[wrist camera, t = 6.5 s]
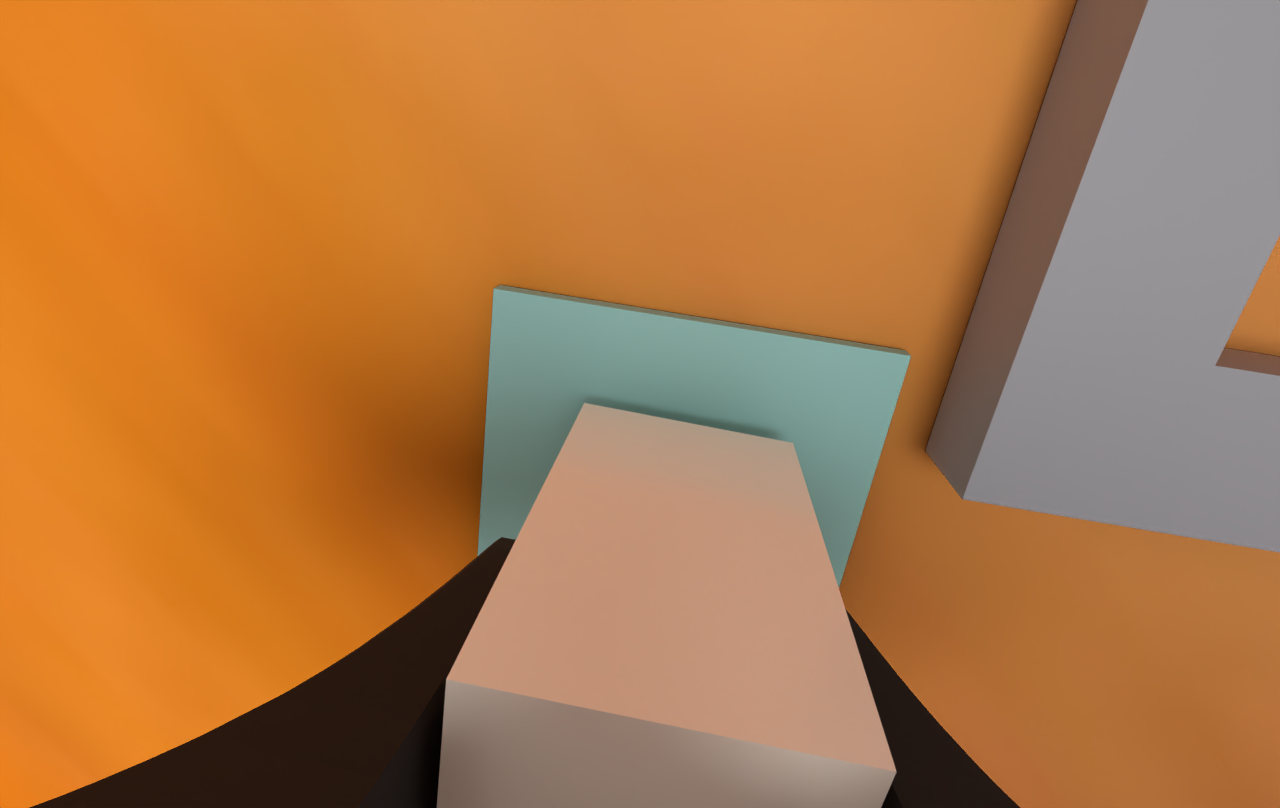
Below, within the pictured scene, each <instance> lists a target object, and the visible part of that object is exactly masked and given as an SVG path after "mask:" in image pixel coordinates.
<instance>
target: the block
mask: <svg viewBox="0 0 1280 808" xmlns="http://www.w3.org/2000/svg"><path fill="white" fill-rule="evenodd" d="M896 772H897V771H896V768H895V765H894V762H893V759H892V755H891V752H890V749H889V746H888V743H887V740H886V736H885V733H884V730H883V727H882V724H881V721H880V717H879V714H878V711H877V708H876V705H875V702H874V698H873V695H872V692H871V689H870V686H869V683H868V679H867V676H866V673H865V670H864V667H863V663H862V660H861V657H860V654H859V651H858V648H857V644H856V641H855V638H854V635H853V632H852V629H851V625H850V622H849V619H848V616H847V613H846V610H845V606H844V603H843V600H842V597H841V594H840V591H839V587H838V584H837V581H836V578H835V575H834V571H833V568H832V565H831V562H830V559H829V556H828V552H827V549H826V546H825V543H824V540H823V537H822V533H821V530H820V527H819V524H818V521H817V518H816V514H815V511H814V508H813V505H812V502H811V499H810V495H809V492H808V489H807V486H806V483H805V479H804V476H803V473H802V470H801V467H800V464H799V460H798V457H797V454H796V451H795V448H794V445H793V443H791V442H786V441H781V440H775V439H770V438H765V437H760V436H755V435H749V434H744V433H739V432H734V431H728V430H723V429H718V428H713V427H708V426H702V425H697V424H692V423H687V422H682V421H676V420H671V419H666V418H661V417H656V416H650V415H645V414H640V413H635V412H629V411H624V410H619V409H614V408H609V407H603V406H598V405H593V404H588V403H584V404H583V406H582V408H581V410H580V412H579V414H578V416H577V418H576V421H575V423H574V425H573V427H572V429H571V431H570V433H569V435H568V437H567V439H566V441H565V443H564V445H563V447H562V449H561V451H560V453H559V455H558V457H557V459H556V461H555V463H554V465H553V467H552V469H551V471H550V473H549V475H548V477H547V479H546V481H545V483H544V485H543V487H542V489H541V491H540V493H539V495H538V497H537V499H536V501H535V503H534V505H533V507H532V509H531V511H530V513H529V515H528V517H527V519H526V521H525V523H524V525H523V527H522V529H521V531H520V533H519V535H518V537H517V539H516V541H515V543H514V545H513V547H512V549H511V551H510V553H509V555H508V557H507V559H506V561H505V563H504V565H503V567H502V569H501V571H500V573H499V575H498V577H497V579H496V581H495V583H494V585H493V587H492V589H491V591H490V593H489V595H488V597H487V599H486V601H485V603H484V605H483V607H482V609H481V611H480V613H479V615H478V617H477V619H476V621H475V623H474V625H473V627H472V629H471V631H470V633H469V635H468V637H467V639H466V641H465V643H464V645H463V647H462V649H461V651H460V653H459V655H458V657H457V659H456V661H455V663H454V665H453V667H452V669H451V671H450V673H449V675H448V677H447V679H446V689H445V703H444V716H443V729H442V743H441V756H440V770H439V783H438V796H437V808H881V807H882V804H883V802H884V800H885V797H886V795H887V793H888V790H889V788H890V786H891V784H892V781H893V779H894V777H895V774H896Z"/></svg>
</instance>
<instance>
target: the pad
mask: <svg viewBox="0 0 1280 808" xmlns="http://www.w3.org/2000/svg"><path fill="white" fill-rule="evenodd" d="M910 358H911V355H909V354H908V353H907V352H906V351H905V350H901V349H895V348H889V347H882V346H876V345H870V344H864V343H858V342H851V341H845V340H839V339H833V338H826V337H820V336H814V335H808V334H802V333H795V332H789V331H783V330H777V329H771V328H764V327H758V326H752V325H746V324H740V323H733V322H727V321H721V320H715V319H709V318H702V317H696V316H690V315H684V314H678V313H671V312H665V311H659V310H653V309H647V308H640V307H634V306H628V305H622V304H616V303H609V302H603V301H597V300H591V299H585V298H578V297H572V296H566V295H560V294H554V293H547V292H541V291H535V290H529V289H523V288H516V287H510V286H504V285H499V286H497V287H495V288H494V291H493V308H492V324H491V341H490V358H489V374H488V391H487V408H486V424H485V441H484V458H483V474H482V491H481V508H480V524H479V541H478V556H479V555H480V554H481V553H482V552H483V551H484V550H485V549H487V548H488V547H489V546H490V545H491V544H492V543H494V542H495V541H496V540H498V539H499V538H501V537H504V538H510V539H517V537H518V535H519V533H520V531H521V529H522V527H523V525H524V523H525V521H526V519H527V517H528V515H529V513H530V511H531V509H532V507H533V505H534V503H535V501H536V499H537V497H538V495H539V493H540V491H541V489H542V487H543V485H544V483H545V481H546V479H547V477H548V475H549V473H550V471H551V469H552V467H553V465H554V463H555V461H556V459H557V457H558V455H559V453H560V451H561V449H562V447H563V445H564V443H565V441H566V439H567V437H568V435H569V433H570V431H571V429H572V427H573V425H574V423H575V421H576V418H577V416H578V414H579V412H580V410H581V408H582V406H583V404H584V403H588V404H593V405H598V406H603V407H609V408H614V409H619V410H624V411H629V412H635V413H640V414H645V415H650V416H656V417H661V418H666V419H671V420H676V421H682V422H687V423H692V424H697V425H702V426H708V427H713V428H718V429H723V430H728V431H734V432H739V433H744V434H749V435H755V436H760V437H765V438H770V439H775V440H781V441H786V442H791V443H793V445H794V448H795V451H796V454H797V457H798V460H799V464H800V467H801V470H802V473H803V476H804V479H805V483H806V486H807V489H808V492H809V495H810V499H811V502H812V505H813V508H814V511H815V514H816V518H817V521H818V524H819V527H820V530H821V533H822V537H823V540H824V543H825V546H826V549H827V552H828V556H829V559H830V562H831V565H832V568H833V571H834V575H835V578H836V581H837V584H838V587H839V586H840V583H841V580H842V577H843V574H844V570H845V567H846V564H847V561H848V557H849V554H850V551H851V548H852V545H853V541H854V538H855V535H856V532H857V528H858V525H859V522H860V519H861V516H862V512H863V509H864V506H865V503H866V499H867V496H868V493H869V490H870V487H871V483H872V480H873V477H874V474H875V471H876V467H877V464H878V461H879V458H880V454H881V451H882V448H883V445H884V442H885V438H886V435H887V432H888V429H889V425H890V422H891V419H892V416H893V413H894V409H895V406H896V403H897V400H898V397H899V393H900V390H901V387H902V384H903V380H904V377H905V374H906V371H907V368H908V364H909V361H910Z"/></svg>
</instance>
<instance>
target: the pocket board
mask: <svg viewBox="0 0 1280 808" xmlns="http://www.w3.org/2000/svg"><path fill="white" fill-rule="evenodd" d="M1279 236H1280V0H1078V1H1077V4H1076V7H1075V10H1074V12H1073V15H1072V18H1071V21H1070V24H1069V27H1068V30H1067V33H1066V36H1065V39H1064V42H1063V45H1062V48H1061V51H1060V54H1059V57H1058V60H1057V63H1056V66H1055V69H1054V72H1053V75H1052V78H1051V80H1050V83H1049V86H1048V89H1047V92H1046V95H1045V98H1044V101H1043V104H1042V107H1041V110H1040V113H1039V116H1038V119H1037V122H1036V125H1035V128H1034V131H1033V134H1032V137H1031V140H1030V143H1029V146H1028V148H1027V151H1026V154H1025V157H1024V160H1023V163H1022V166H1021V169H1020V172H1019V175H1018V178H1017V181H1016V184H1015V187H1014V190H1013V193H1012V196H1011V199H1010V202H1009V205H1008V208H1007V211H1006V214H1005V216H1004V219H1003V222H1002V225H1001V228H1000V231H999V234H998V237H997V240H996V243H995V246H994V249H993V252H992V255H991V258H990V261H989V264H988V267H987V270H986V273H985V276H984V279H983V282H982V284H981V287H980V290H979V293H978V296H977V299H976V302H975V305H974V308H973V311H972V314H971V317H970V320H969V323H968V326H967V329H966V332H965V335H964V338H963V341H962V344H961V347H960V350H959V352H958V355H957V358H956V361H955V364H954V367H953V370H952V373H951V376H950V379H949V382H948V385H947V388H946V391H945V394H944V397H943V400H942V403H941V406H940V409H939V412H938V415H937V418H936V420H935V423H934V426H933V429H932V432H931V435H930V438H929V441H928V444H927V447H926V450H925V452H926V453H927V454H928V455H929V457H930V458H931V459H932V461H933V462H934V463H935V465H936V466H937V467H938V468H939V470H940V471H941V472H942V474H943V475H944V476H945V477H946V479H947V480H948V481H949V483H950V484H951V485H952V487H953V488H954V489H955V490H956V492H957V493H958V494H959V496H960V497H961V498H962V499H964V500H970V501H976V502H982V503H988V504H994V505H1000V506H1006V507H1012V508H1018V509H1024V510H1030V511H1035V512H1041V513H1047V514H1053V515H1059V516H1065V517H1071V518H1077V519H1083V520H1089V521H1095V522H1101V523H1107V524H1113V525H1119V526H1125V527H1131V528H1137V529H1143V530H1149V531H1155V532H1161V533H1167V534H1173V535H1179V536H1185V537H1191V538H1197V539H1203V540H1209V541H1215V542H1220V543H1226V544H1232V545H1238V546H1244V547H1250V548H1256V549H1262V550H1268V551H1274V552H1280V357H1279V356H1273V355H1267V354H1261V353H1254V352H1248V351H1242V350H1235V349H1229V348H1224V347H1225V345H1226V343H1227V341H1228V339H1229V337H1230V335H1231V333H1232V331H1233V329H1234V327H1235V325H1236V323H1237V321H1238V319H1239V316H1240V314H1241V312H1242V310H1243V308H1244V306H1245V304H1246V302H1247V300H1248V298H1249V296H1250V294H1251V292H1252V290H1253V288H1254V286H1255V284H1256V282H1257V280H1258V278H1259V276H1260V274H1261V272H1262V270H1263V268H1264V266H1265V264H1266V262H1267V260H1268V258H1269V256H1270V254H1271V252H1272V250H1273V248H1274V246H1275V244H1276V242H1277V240H1278V238H1279Z"/></svg>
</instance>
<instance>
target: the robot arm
mask: <svg viewBox="0 0 1280 808" xmlns="http://www.w3.org/2000/svg"><path fill="white" fill-rule="evenodd" d="M515 541H516V539H510V538H504V537H501V538H499V539H498V540H496V541H495V542H494V543H492V544H491V545H490V546H489V547H488V548H487V549H485V550H484V551H483V552H482V553H481V554H480V555H479V556H477V557H476V558H475V559H474V560H473V561H472V562H470V563H469V564H468V565H467V566H466V567H465V568H463V569H462V570H461V571H460V572H459V573H457V574H456V575H455V576H454V577H453V578H451V579H450V580H449V581H448V582H447V583H445V584H444V585H443V586H442V587H440V588H439V589H438V590H437V591H435V592H434V593H433V594H431V595H430V596H429V597H428V598H426V599H425V600H424V601H423V602H421V603H420V604H419V605H417V606H416V607H415V608H414V609H412V610H411V611H410V612H408V613H407V614H406V615H404V616H403V617H402V618H400V619H399V620H397V621H396V622H395V623H393V624H392V625H390V626H389V627H387V628H386V629H385V630H383V631H382V632H380V633H379V634H378V635H376V636H375V637H373V638H372V639H370V640H369V641H368V642H366V643H365V644H363V645H362V646H361V647H359V648H358V649H356V650H355V651H353V652H351V653H350V654H348V655H347V656H345V657H344V658H342V659H341V660H339V661H338V662H336V663H334V664H333V665H331V666H330V667H328V668H326V669H325V670H323V671H322V672H320V673H318V674H316V675H315V676H313V677H311V678H310V679H308V680H306V681H305V682H303V683H301V684H300V685H298V686H296V687H295V688H293V689H291V690H289V691H288V692H286V693H284V694H282V695H280V696H278V697H276V698H275V699H273V700H271V701H269V702H267V703H265V704H263V705H261V706H259V707H257V708H255V709H253V710H251V711H249V712H247V713H245V714H243V715H241V716H239V717H237V718H235V719H233V720H231V721H229V722H227V723H225V724H224V725H222V726H220V727H218V728H216V729H214V730H212V731H210V732H208V733H206V734H204V735H202V736H200V737H198V738H195V739H193V740H191V741H189V742H187V743H185V744H182V745H180V746H178V747H176V748H174V749H171V750H169V751H167V752H165V753H162V754H160V755H158V756H156V757H154V758H151V759H149V760H147V761H145V762H142V763H140V764H137V765H135V766H133V767H130V768H128V769H126V770H123V771H121V772H119V773H116V774H114V775H111V776H109V777H107V778H104V779H102V780H100V781H97V782H95V783H92V784H90V785H87V786H85V787H82V788H80V789H77V790H75V791H72V792H70V793H67V794H65V795H62V796H60V797H57V798H54V799H52V800H49V801H46V802H44V803H41V804H38V805H35V806H33V807H30V808H437V796H438V783H439V770H440V756H441V743H442V729H443V716H444V703H445V689H446V679H447V677H448V675H449V673H450V671H451V669H452V667H453V665H454V663H455V661H456V659H457V657H458V655H459V653H460V651H461V649H462V647H463V645H464V643H465V641H466V639H467V637H468V635H469V633H470V631H471V629H472V627H473V625H474V623H475V621H476V619H477V617H478V615H479V613H480V611H481V609H482V607H483V605H484V603H485V601H486V599H487V597H488V595H489V593H490V591H491V589H492V587H493V585H494V583H495V581H496V579H497V577H498V575H499V573H500V571H501V569H502V567H503V565H504V563H505V561H506V559H507V557H508V555H509V553H510V551H511V549H512V547H513V545H514V543H515ZM845 610H846V609H845ZM846 613H847V616H848V619H849V622H850V625H851V629H852V632H853V635H854V638H855V641H856V644H857V648H858V651H859V654H860V657H861V660H862V663H863V667H864V670H865V673H866V676H867V679H868V683H869V686H870V689H871V692H872V695H873V698H874V702H875V705H876V708H877V711H878V714H879V717H880V721H881V724H882V727H883V730H884V733H885V736H886V740H887V743H888V746H889V749H890V752H891V755H892V759H893V762H894V765H895V768H896V771H897V772H896V774H895V777H894V779H893V781H892V784H891V786H890V788H889V790H888V793H887V795H886V797H885V800H884V802H883V804H882V807H881V808H1020V807H1019V806H1018V805H1017V804H1016V803H1015V802H1014V801H1013V800H1012V799H1011V798H1010V797H1009V796H1008V795H1006V794H1005V793H1004V792H1003V791H1002V790H1001V789H1000V788H999V787H998V786H997V785H996V784H995V783H994V782H993V781H992V780H991V779H990V778H989V777H988V776H987V775H986V774H985V773H984V772H983V771H982V769H981V768H980V767H979V766H978V765H977V764H976V763H975V762H974V761H973V760H972V759H971V758H970V757H969V756H968V755H967V754H966V752H965V751H964V750H963V749H962V748H961V747H960V746H959V745H958V744H957V743H956V742H955V740H954V739H953V738H952V737H951V736H950V735H949V734H948V733H947V732H946V731H945V730H944V728H943V727H942V726H941V725H940V724H939V723H938V722H937V721H936V719H935V718H934V717H933V716H932V715H931V714H930V713H929V711H928V710H927V709H926V708H925V707H924V706H923V705H922V703H921V702H920V701H919V700H918V699H917V697H916V696H915V695H914V694H913V693H912V692H911V690H910V689H909V688H908V687H907V686H906V684H905V683H904V682H903V681H902V679H901V678H900V677H899V676H898V675H897V673H896V672H895V671H894V670H893V668H892V667H891V666H890V665H889V663H888V662H887V661H886V660H885V659H884V657H883V656H882V655H881V653H880V652H879V651H878V650H877V648H876V647H875V646H874V645H873V643H872V642H871V641H870V639H869V638H868V637H867V636H866V634H865V633H864V632H863V631H862V629H861V628H860V627H859V625H858V624H857V623H856V622H855V620H854V619H853V618H852V616H851V615H850V614H849V613H848V611H847V610H846Z"/></svg>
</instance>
